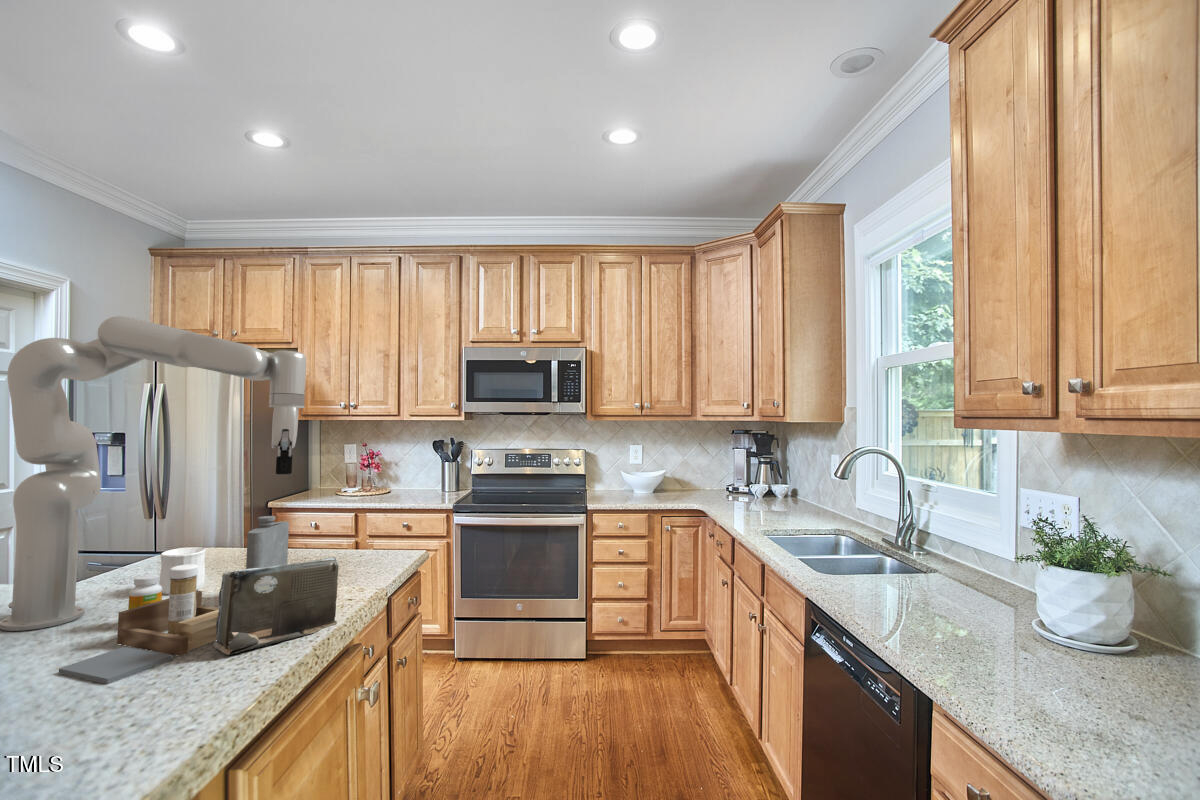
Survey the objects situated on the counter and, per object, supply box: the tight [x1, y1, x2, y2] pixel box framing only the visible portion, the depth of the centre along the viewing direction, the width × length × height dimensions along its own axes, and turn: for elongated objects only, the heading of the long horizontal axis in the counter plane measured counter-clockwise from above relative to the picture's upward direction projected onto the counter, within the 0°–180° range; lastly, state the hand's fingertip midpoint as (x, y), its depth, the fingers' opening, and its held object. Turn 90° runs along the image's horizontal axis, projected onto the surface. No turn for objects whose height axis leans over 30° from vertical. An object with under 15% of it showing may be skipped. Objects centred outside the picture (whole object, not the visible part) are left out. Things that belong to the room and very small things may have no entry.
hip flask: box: [245, 515, 290, 569], centre depth 133 cm, size 16×4×20 cm, turn 6°
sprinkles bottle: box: [167, 564, 198, 635], centre depth 111 cm, size 5×5×13 cm
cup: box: [158, 546, 207, 595], centre depth 141 cm, size 10×10×10 cm
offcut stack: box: [177, 610, 219, 652], centre depth 108 cm, size 4×11×4 cm, turn 162°
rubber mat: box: [58, 646, 173, 685], centre depth 96 cm, size 12×10×1 cm
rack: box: [116, 590, 219, 657], centre depth 110 cm, size 17×15×6 cm
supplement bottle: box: [127, 573, 163, 610], centre depth 116 cm, size 5×5×10 cm
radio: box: [213, 556, 340, 656], centre depth 111 cm, size 23×9×15 cm, turn 140°
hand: (284, 472), depth 134 cm, fingers open, 9 cm apart
